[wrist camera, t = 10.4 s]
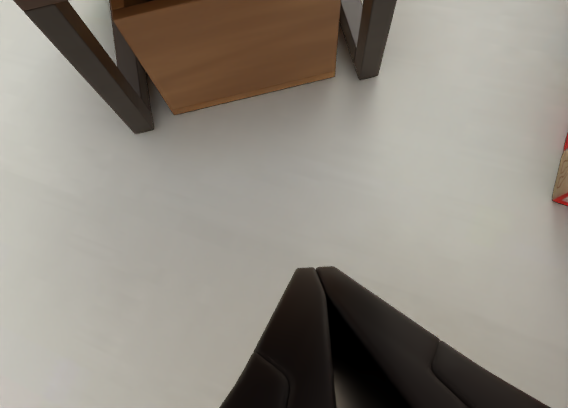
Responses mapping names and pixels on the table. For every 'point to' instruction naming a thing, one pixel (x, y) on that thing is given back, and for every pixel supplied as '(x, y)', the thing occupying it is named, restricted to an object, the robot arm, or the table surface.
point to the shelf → (131, 75)
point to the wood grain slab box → (229, 46)
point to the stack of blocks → (562, 179)
